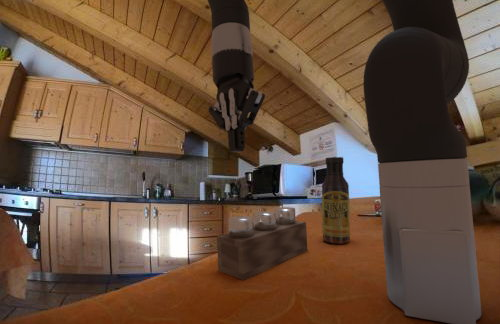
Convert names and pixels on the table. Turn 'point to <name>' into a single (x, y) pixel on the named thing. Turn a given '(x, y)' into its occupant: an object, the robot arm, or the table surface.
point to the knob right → (285, 215)
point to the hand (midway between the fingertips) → (237, 151)
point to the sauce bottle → (335, 203)
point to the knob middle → (265, 221)
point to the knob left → (241, 227)
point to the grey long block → (260, 250)
